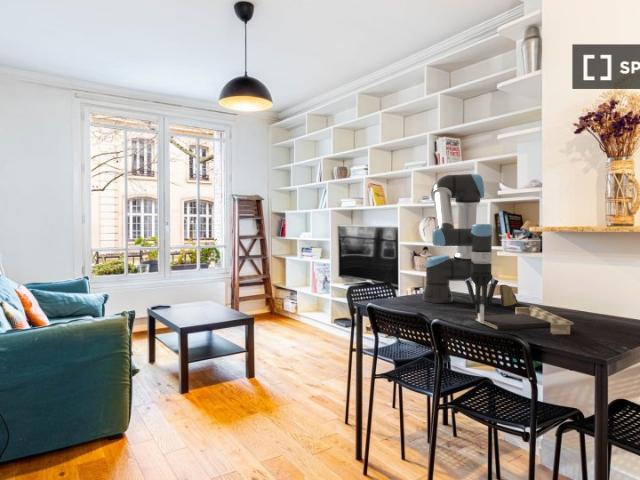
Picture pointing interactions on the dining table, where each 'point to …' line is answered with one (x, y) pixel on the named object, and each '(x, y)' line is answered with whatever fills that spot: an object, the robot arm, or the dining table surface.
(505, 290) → the rock
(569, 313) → the dining table surface
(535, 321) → the hardcover book
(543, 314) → the beige notched bar
